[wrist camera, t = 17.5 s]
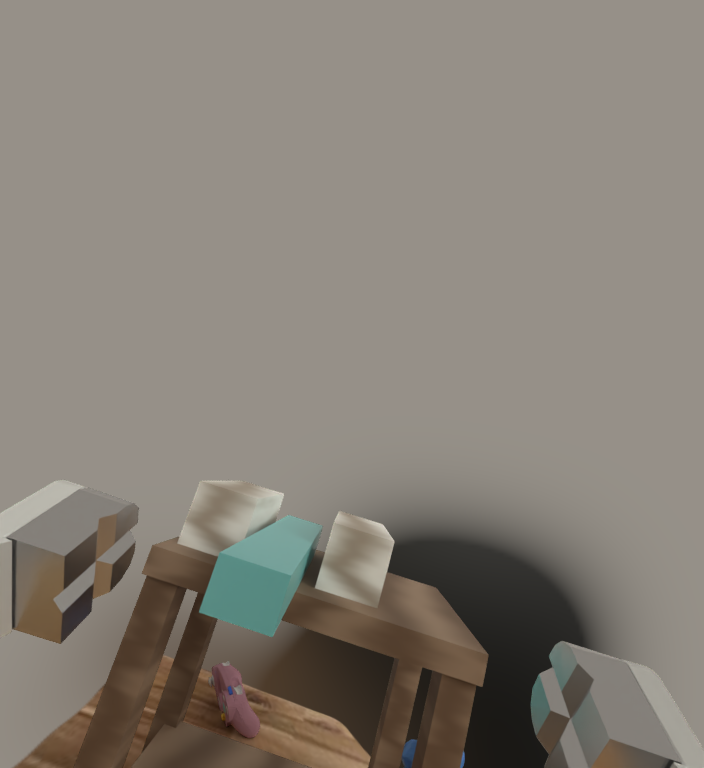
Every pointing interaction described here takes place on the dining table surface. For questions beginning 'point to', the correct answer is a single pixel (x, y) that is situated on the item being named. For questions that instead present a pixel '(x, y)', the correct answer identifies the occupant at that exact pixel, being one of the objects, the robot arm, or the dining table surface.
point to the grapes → (409, 754)
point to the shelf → (307, 609)
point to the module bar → (261, 575)
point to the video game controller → (233, 700)
